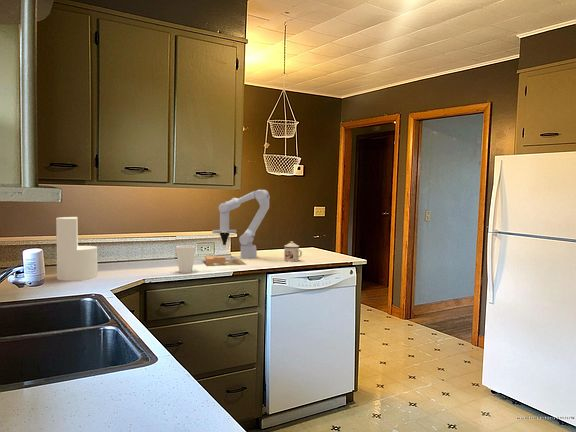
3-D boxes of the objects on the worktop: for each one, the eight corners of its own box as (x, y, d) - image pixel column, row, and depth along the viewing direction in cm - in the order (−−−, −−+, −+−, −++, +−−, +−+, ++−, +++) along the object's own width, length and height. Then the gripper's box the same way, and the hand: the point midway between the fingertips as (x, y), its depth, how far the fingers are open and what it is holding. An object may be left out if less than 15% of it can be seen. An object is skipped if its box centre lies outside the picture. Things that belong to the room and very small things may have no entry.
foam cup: (198, 270, 230) (198, 245, 230) (188, 274, 222) (188, 248, 221) (182, 269, 233) (182, 245, 233) (172, 272, 225) (172, 247, 224)
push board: (238, 261, 264) (238, 259, 264) (247, 266, 245) (247, 264, 245) (201, 262, 257) (201, 260, 257) (206, 268, 238) (206, 266, 238)
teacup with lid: (280, 260, 268) (281, 241, 268) (290, 259, 276) (290, 240, 275) (296, 262, 261) (297, 243, 260) (305, 261, 268) (306, 241, 268)
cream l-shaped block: (55, 281, 199) (54, 219, 197) (58, 275, 214) (57, 217, 213) (97, 279, 205) (97, 218, 204) (97, 272, 221) (96, 216, 220)
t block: (223, 260, 258) (223, 255, 258) (226, 263, 246) (226, 258, 246) (205, 261, 255) (205, 255, 255) (207, 264, 244) (207, 259, 243)
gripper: (234, 222, 280) (234, 243, 280) (211, 222, 275) (211, 244, 275) (237, 223, 273) (237, 245, 274) (213, 223, 268) (213, 245, 269)
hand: (224, 244), depth 274 cm, fingers closed
